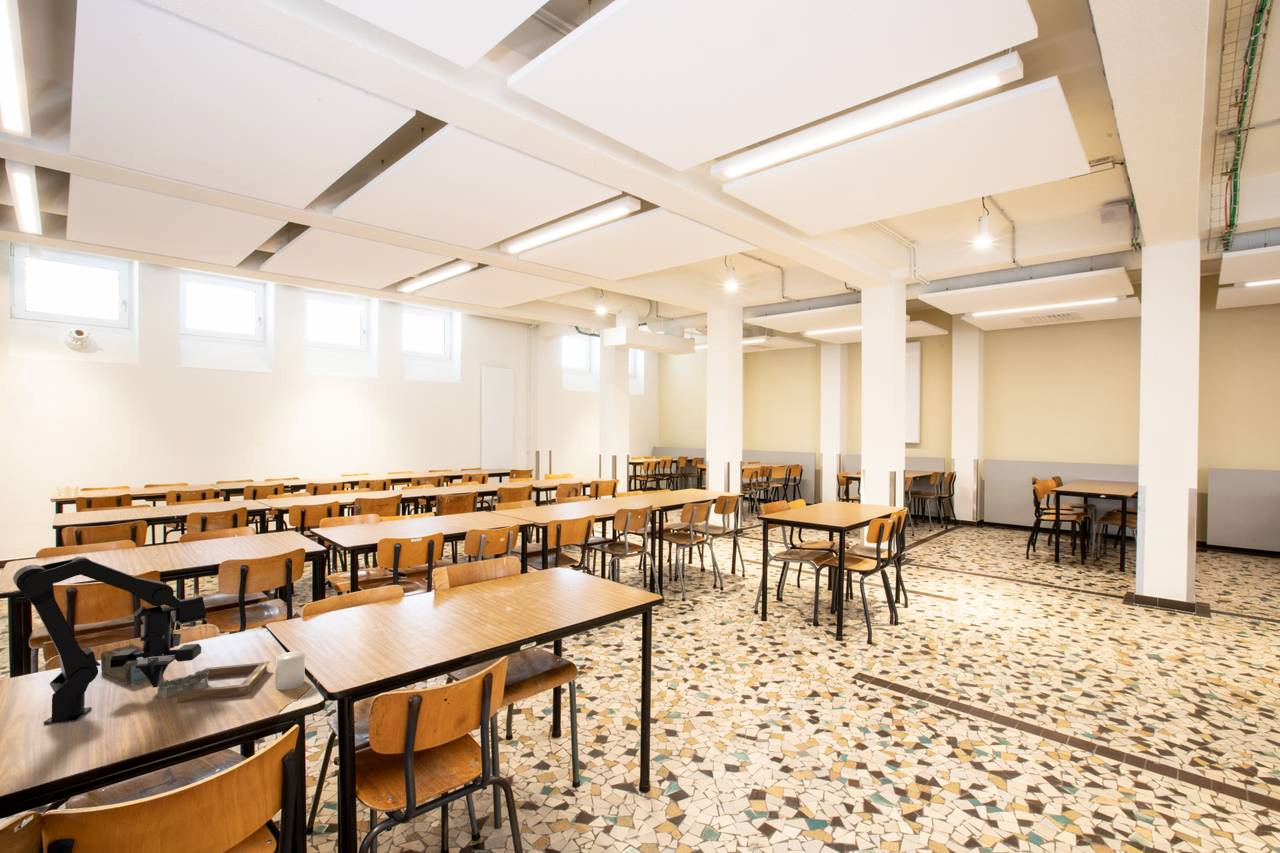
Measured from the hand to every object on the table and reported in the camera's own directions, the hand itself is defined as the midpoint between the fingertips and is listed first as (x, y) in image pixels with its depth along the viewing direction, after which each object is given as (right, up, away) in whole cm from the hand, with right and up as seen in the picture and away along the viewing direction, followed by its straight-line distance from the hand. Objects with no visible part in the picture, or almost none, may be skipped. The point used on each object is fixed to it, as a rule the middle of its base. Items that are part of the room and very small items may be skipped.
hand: (156, 686), depth 156 cm
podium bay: (+16, -2, +5) cm, 17 cm away
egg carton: (+7, -2, +1) cm, 7 cm away
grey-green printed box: (-17, -2, +12) cm, 21 cm away
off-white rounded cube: (+33, -2, +5) cm, 34 cm away
